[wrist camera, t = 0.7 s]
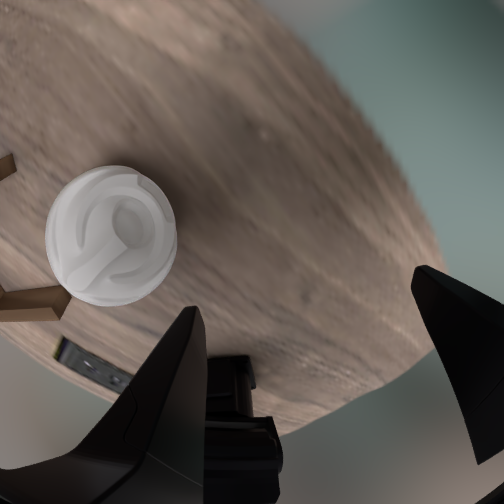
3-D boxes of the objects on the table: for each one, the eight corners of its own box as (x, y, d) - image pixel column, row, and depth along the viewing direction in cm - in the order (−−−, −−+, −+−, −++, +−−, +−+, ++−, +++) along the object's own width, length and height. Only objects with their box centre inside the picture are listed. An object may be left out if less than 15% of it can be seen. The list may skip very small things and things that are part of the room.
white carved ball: (204, 224, 19) (194, 301, 13) (128, 272, 21) (98, 348, 14) (134, 130, 15) (75, 161, 9) (63, 196, 17) (2, 254, 10)
